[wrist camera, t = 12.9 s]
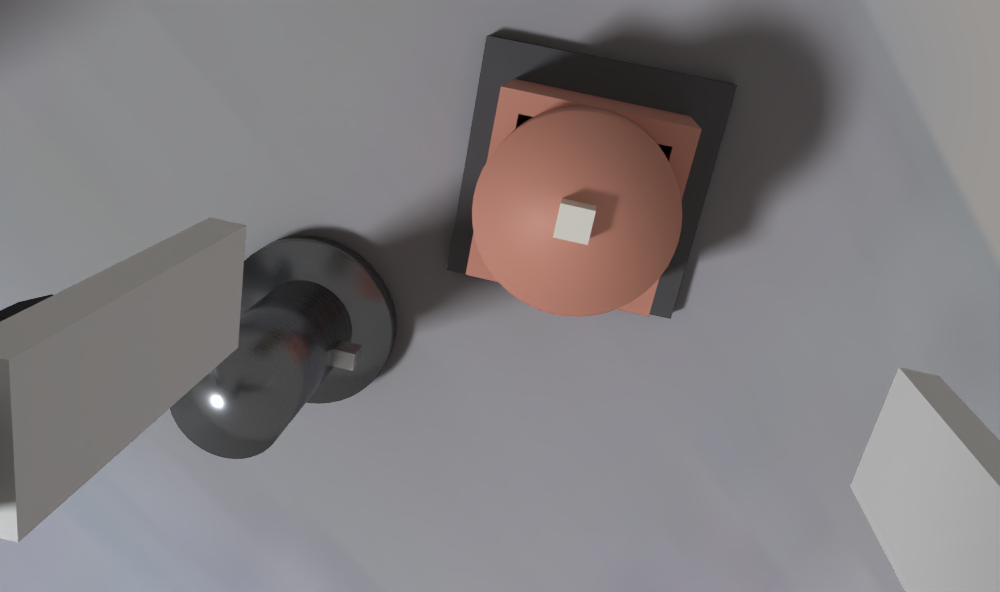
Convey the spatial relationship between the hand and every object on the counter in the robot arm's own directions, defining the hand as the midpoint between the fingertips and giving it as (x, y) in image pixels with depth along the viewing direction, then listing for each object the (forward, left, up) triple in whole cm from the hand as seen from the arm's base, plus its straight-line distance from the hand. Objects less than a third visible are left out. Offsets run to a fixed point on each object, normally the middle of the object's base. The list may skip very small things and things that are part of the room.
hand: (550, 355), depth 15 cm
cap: (0, 0, -18) cm, 18 cm away
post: (-11, -9, -19) cm, 23 cm away
